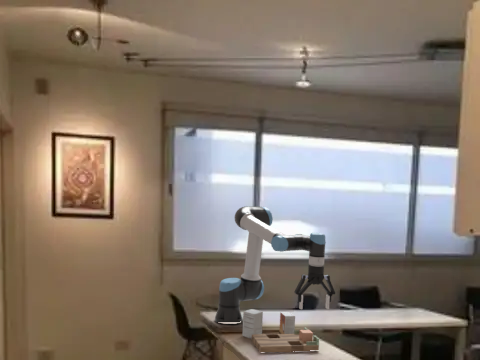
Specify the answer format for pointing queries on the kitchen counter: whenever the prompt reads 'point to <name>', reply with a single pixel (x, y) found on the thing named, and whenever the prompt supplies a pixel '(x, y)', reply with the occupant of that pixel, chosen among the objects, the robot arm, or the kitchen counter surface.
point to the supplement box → (252, 322)
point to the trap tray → (284, 342)
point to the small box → (287, 323)
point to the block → (306, 335)
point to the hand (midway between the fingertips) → (314, 308)
